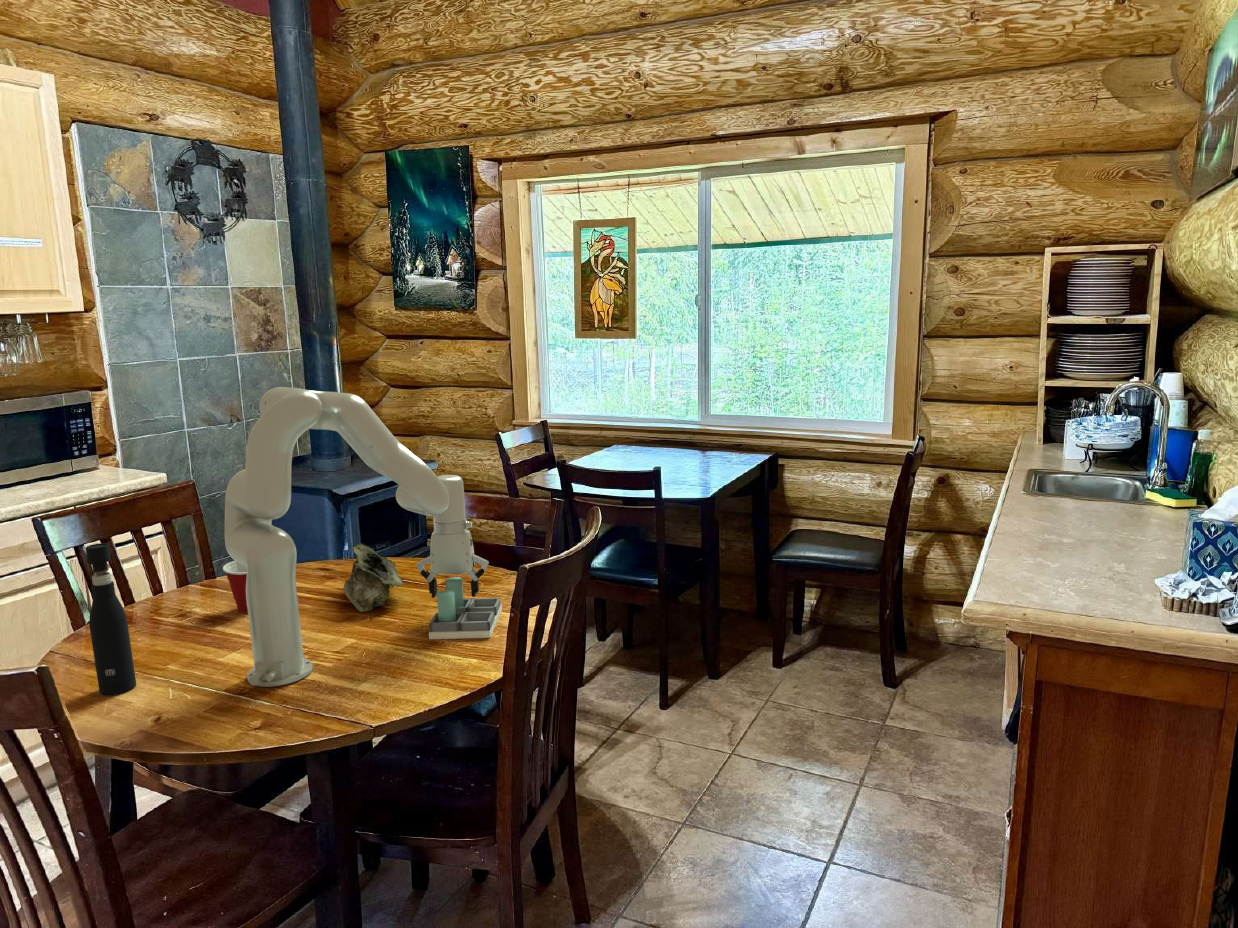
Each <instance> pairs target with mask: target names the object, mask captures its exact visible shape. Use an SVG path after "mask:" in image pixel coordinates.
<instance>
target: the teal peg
mask: <svg viewBox="0 0 1238 928" xmlns="http://www.w3.org/2000/svg"><path fill="white" fill-rule="evenodd" d="M444 581H445V590H451V591H454V595H455V608H458V607H464V599H465V598H464V586H463V585H464V584H463V578H462V577H458V576H457V577H456V576H455V577H449V578H446V579H444Z"/></svg>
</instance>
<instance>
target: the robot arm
mask: <svg viewBox="0 0 1238 928" xmlns="http://www.w3.org/2000/svg"><path fill="white" fill-rule="evenodd" d="M258 405H259V412H260V417H259V418H258V419H257V420H256V422H255V423H254V425H253V427H252V428H251V430H250V433H249V435H248V440H247V443H246V454H245V465H244V466H245V468H244V469H242V470H240V471H238V472H236V474H234V475H233V476H232V477H231V478H230V480H229V482H228V484H227V487H226V489H225V497H224V544H225V549H226V552H227V554H228V555H229V556H230V558H232V559H233V561H236V562H238V563H240V564H242V565H244V566H245V567H246V569H247V579H246V601H247V608H248V613H247V614H248V623H249V624H248V625H249V632H250V640H251V642H250V643H251V649H252V650H251V651H252V659H253V667H251V669H250V670H249V671H247V674H246V676H247V677H246V678H247V682H248V683H249V684H250V686H256V687H261V688H262V687H263V688H265V687H266V688H269V687H270V688H273V687H279V686H285V685H289V684H292V683H295V682H298V681H300V680H302V679H304V678H306V677H307V676H309V675H310V674H311V673H312V671H313V669H314V668H313V662H312V661H311V660H310V659H308V658H306V657H304V649H303V637H302V630H301V629H302V628H301V621H300V620H301V619H300V611H299V610H300V609H299V602H298V600H299V599H298V591H297V579H296V577H297V576H296V571H297V570H296V569H297V556H298V555H297V547H296V544H295V542H294V539H293V538H292V537H291V536H290V535H289V533H287V532H286V531H285V530H283V529H282V528H279V527H276V526H275V525H273V524H272V521H274V520H277V519H279V518H282V517H284V515H285V514H286V513H287V512H288V510H289V508H290V506H291V501H292V467H293V466H292V463H293V462H292V461H293V452H294V448H295V445H296V443H297V441H298V440H299V438H300V437H301V436H302V435H304V434H305V432H306V431H308V430H309V429H310V430H326V431H327V430H328V431H334V432H337V433H338V434H339V436H341V438H342V439H344V440H345V442H346V443H347V444H348V445H349V446H350V447H351V449H352V450H353V451H354V452H355V453H356V454H357V455H358V456H359V458H360V459H361V460H362V461H363V462H364V463H365V465H367V466H368V468H370V469H372V470H373V471H375V472H376V473H378V474H380V475H382V476H384V477H386V478H388V479H390V480H391V481H393V482H394V483H396V484H397V485H398V486H397V489H396V490H395V500H396V502H397V503H398V505H399V506H400V507H401V508H402V509H405V510H407V511H410V512H411V513H412V512H413V513H416V514H421V515H424V516H427V517H433V520H432V521H433V532H432V533H431V536H430V549H429V555H428V556H427V557H425V558H424V559H422V560H420V561H418V562H417V563H416V564H415V566H416V568H417V570H418V572H419V573H420V575H421V576H422V577H423V578H424V579H425V580H426V582H428V590H429V591H428V592H429V594H430V595H431V598H432V599H435V598H437V593H438V582H437V578H436V576H437V575H468V576H469V577H470V579H471V581H470V591H471V597H472V598H475V597H476V596H477V594H478V593H479V591H480V587H479V579H480V577H482V576H483V575H484V573H485V572H486V570H487V568H488V566H489V563H490V562H489V560H487V559H485V558H482V557H481V556H478V555H476V554H475V549H474V544H473V538H472V534H471V531H470V530H469V528H472V527H473V522H472V521H469V520H467V518H466V505H465V504H466V502H465V488H464V480H463V478H462V477H461V476H460V475H456V474H443V475H442V474H441V475H438V476H437V474H436V473H435V472H434V471H433V470H432V469H431V468H430V467H429V466H428V465H427V464H426V463H425V462H424V461H423V460H422V459H420V458H419V457H418V456H417V455H416V454H414V452H412V451H411V450H409V449H408V448H407V447H406V446H405V445H403V444H402V443H401V442H400V441H399V440H398V439H397V438H396V437H395V436H394V434H392V432H391V430H389V429H388V427H387V426H386V425H385V424H384V423H383V421H382V420H381V419H380V417H378V414H376V412H374V410H373V409H372V408H371V407H370V406H369V404H368V403H367V402H366V401H365V399H363V398H362V397H360V396H358V395H357V394H353V393H349V392H348V393H347V392H338V391H322V390H321V391H320V390H310V389H305V388H299V387H288V386H287V387H286V386H278V387H273V388H271V389H269V390H267V391H266V392H265V393H263V395H262V397H261V398H260V400H259V404H258ZM476 563H477V564H479V565H480V566H481V567H480V568H479V569H478V571H477V570H476V568H475V567H476ZM427 564H429V566H430V567H429V568H430V571H428V570H427V569H426V568H425V566H426V565H427Z"/></svg>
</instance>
